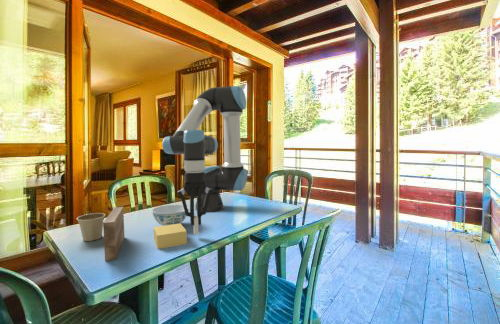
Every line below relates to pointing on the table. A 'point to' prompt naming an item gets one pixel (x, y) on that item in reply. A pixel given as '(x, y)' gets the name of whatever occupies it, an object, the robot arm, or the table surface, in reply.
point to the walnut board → (113, 233)
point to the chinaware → (169, 214)
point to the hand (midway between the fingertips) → (196, 233)
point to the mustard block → (170, 235)
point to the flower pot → (91, 226)
